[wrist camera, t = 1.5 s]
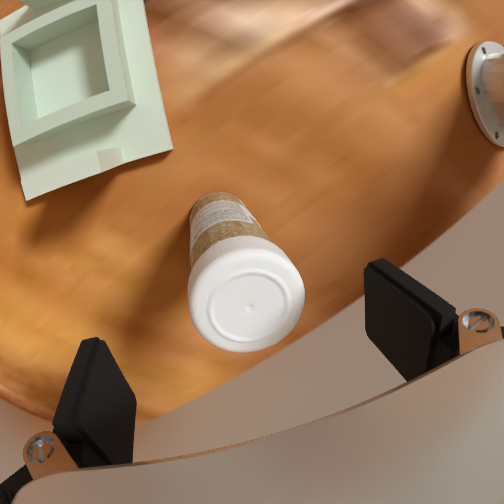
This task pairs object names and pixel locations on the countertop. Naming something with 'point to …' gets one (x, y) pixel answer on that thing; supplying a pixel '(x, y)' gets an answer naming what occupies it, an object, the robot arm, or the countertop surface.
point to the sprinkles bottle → (239, 278)
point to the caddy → (79, 89)
